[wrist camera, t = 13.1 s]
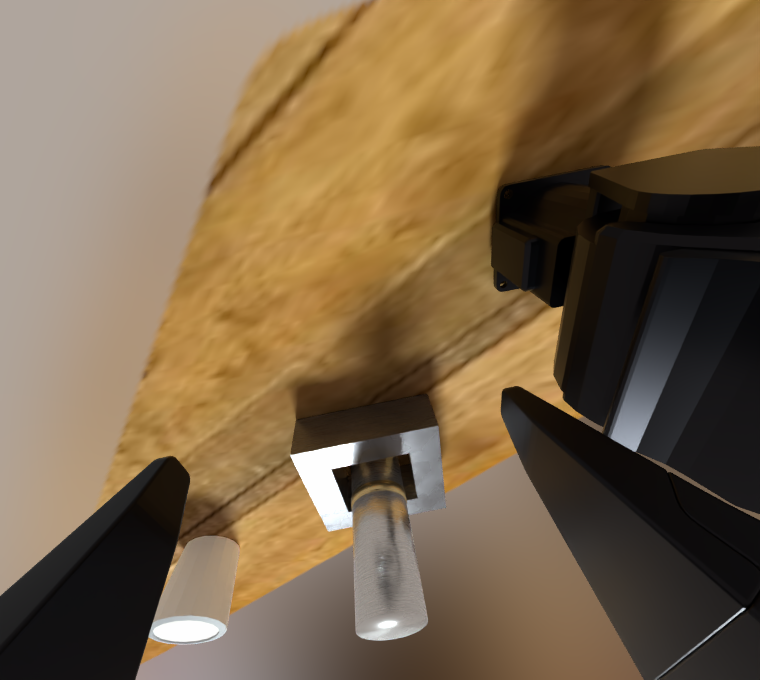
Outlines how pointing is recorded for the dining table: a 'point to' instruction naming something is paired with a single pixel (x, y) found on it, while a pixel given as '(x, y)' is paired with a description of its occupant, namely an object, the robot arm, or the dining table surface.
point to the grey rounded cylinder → (384, 554)
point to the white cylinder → (198, 593)
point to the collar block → (369, 454)
